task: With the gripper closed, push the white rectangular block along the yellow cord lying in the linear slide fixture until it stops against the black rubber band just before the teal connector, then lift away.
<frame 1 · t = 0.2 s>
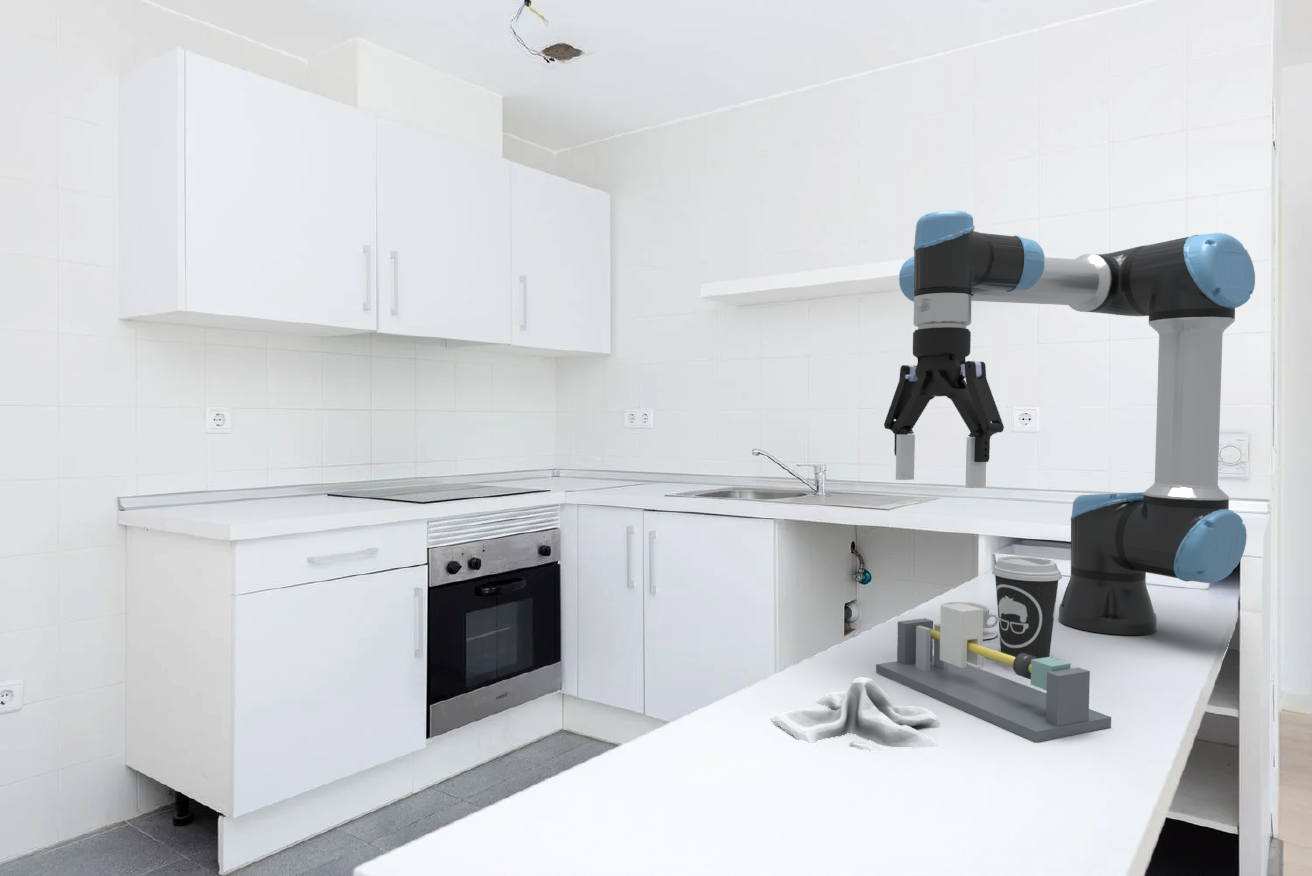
hand: (938, 483, 119), 27 cm above the countertop, fingers open, 13 cm apart
linear slide fixture: (982, 697, 112), on the countertop
teacup: (965, 635, 145), on the countertop
coffee cup: (1024, 662, 129), on the countertop
white rectangular block: (961, 634, 116), point 7 cm above the countertop, slide at 0.0 cm
cloth: (871, 734, 101), on the countertop
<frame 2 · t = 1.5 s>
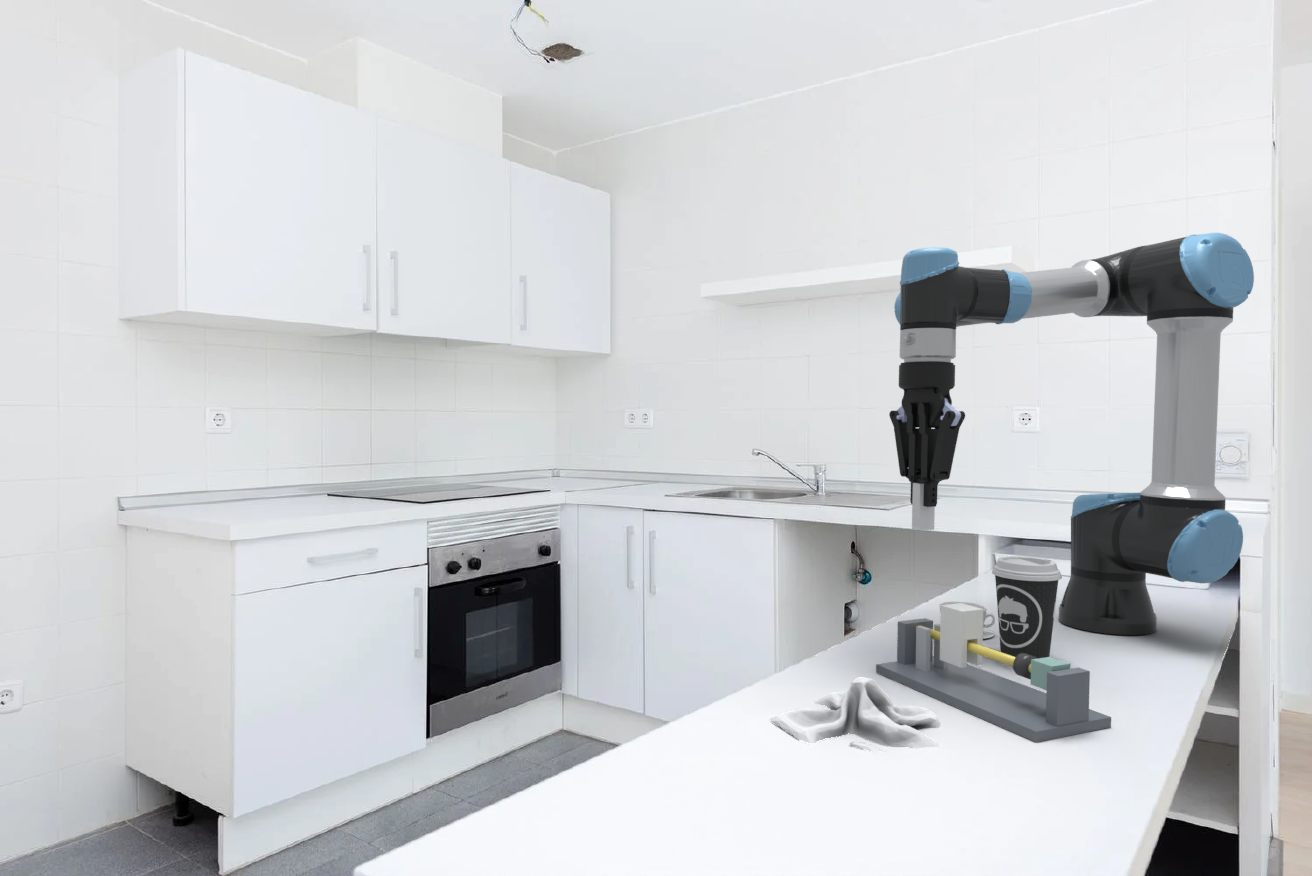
hand: (922, 529, 122), 20 cm above the countertop, fingers closed
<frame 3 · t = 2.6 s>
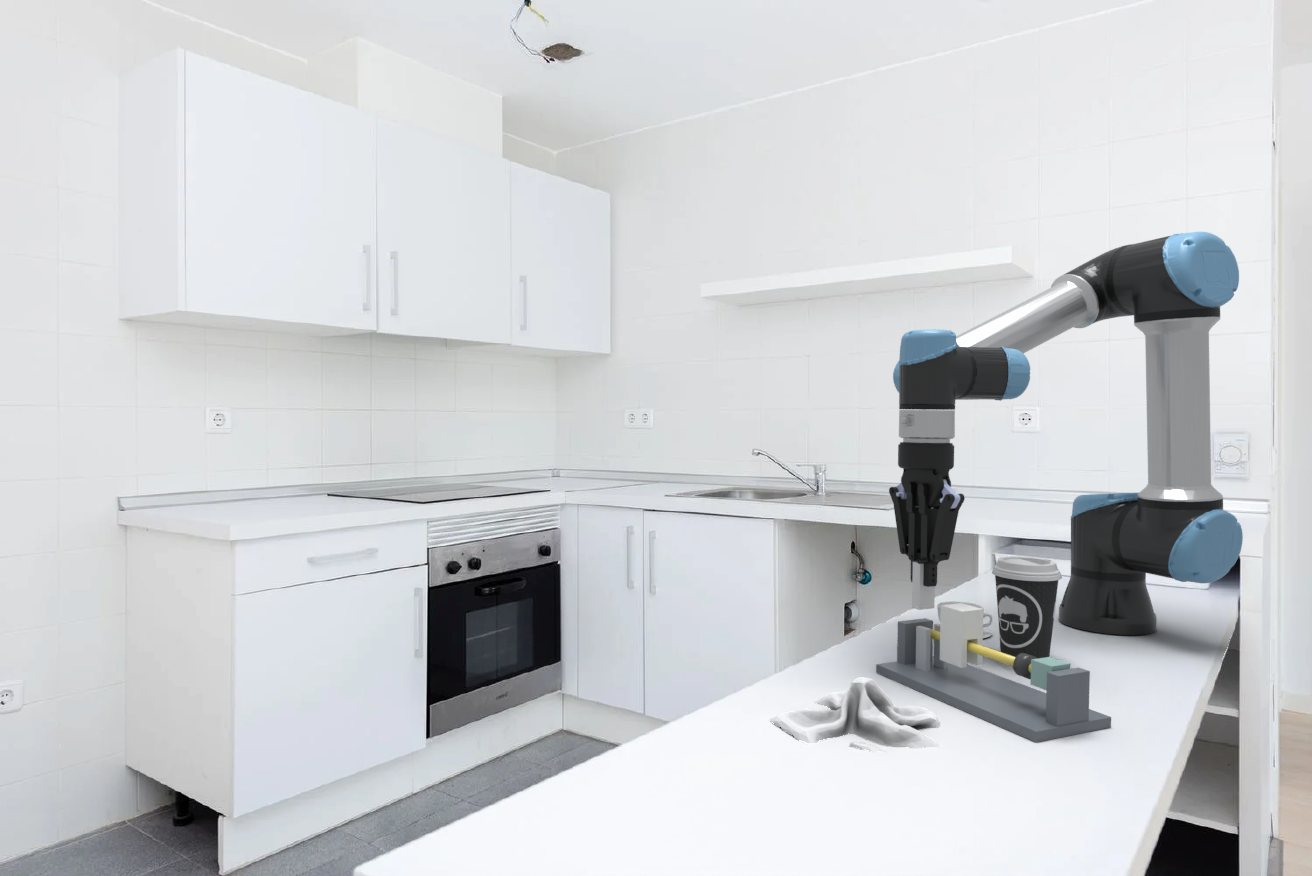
hand: (923, 607, 122), 9 cm above the countertop, fingers closed
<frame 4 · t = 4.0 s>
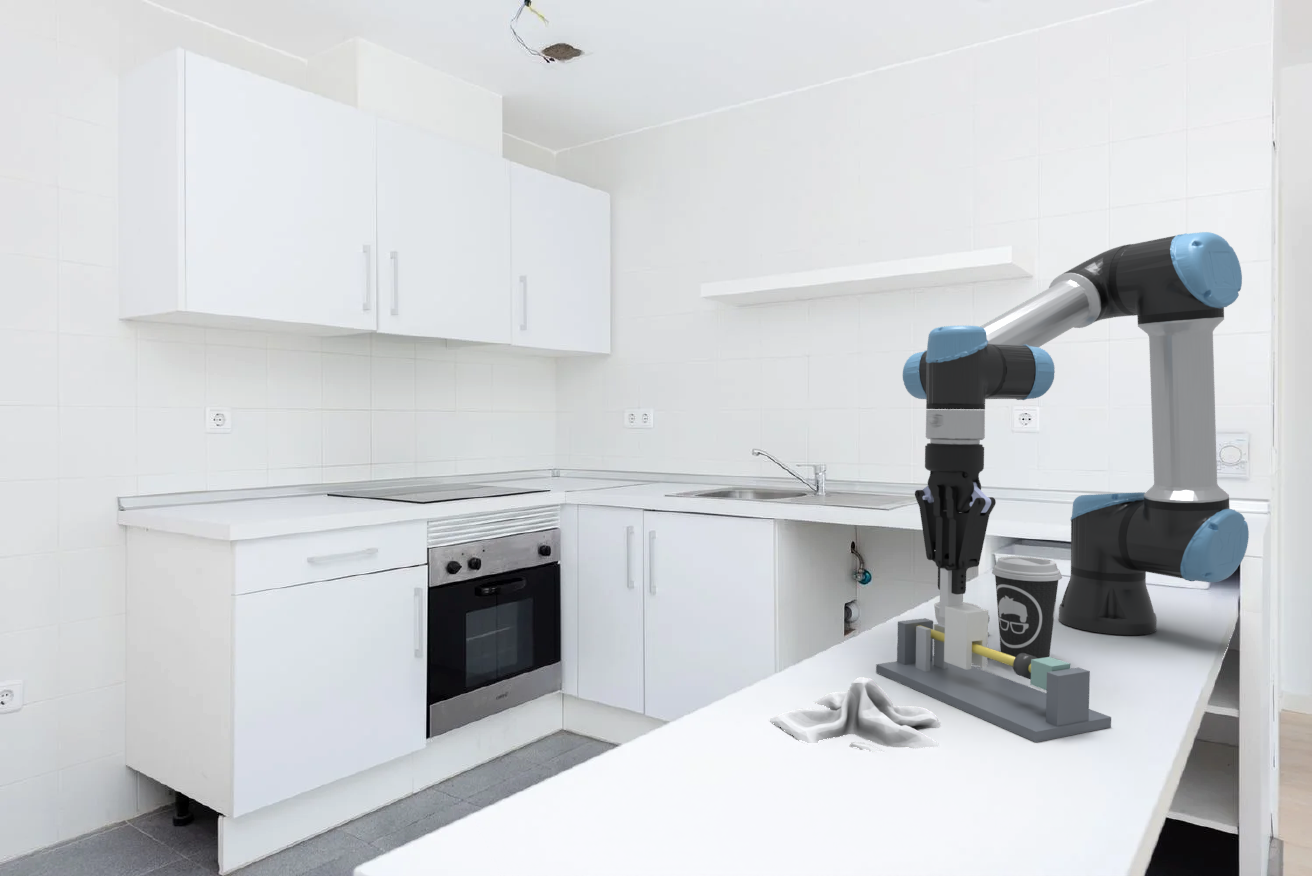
hand: (951, 616, 117), 9 cm above the countertop, fingers closed
white rectangular block: (965, 636, 115), point 7 cm above the countertop, slide at 0.9 cm, touching gripper
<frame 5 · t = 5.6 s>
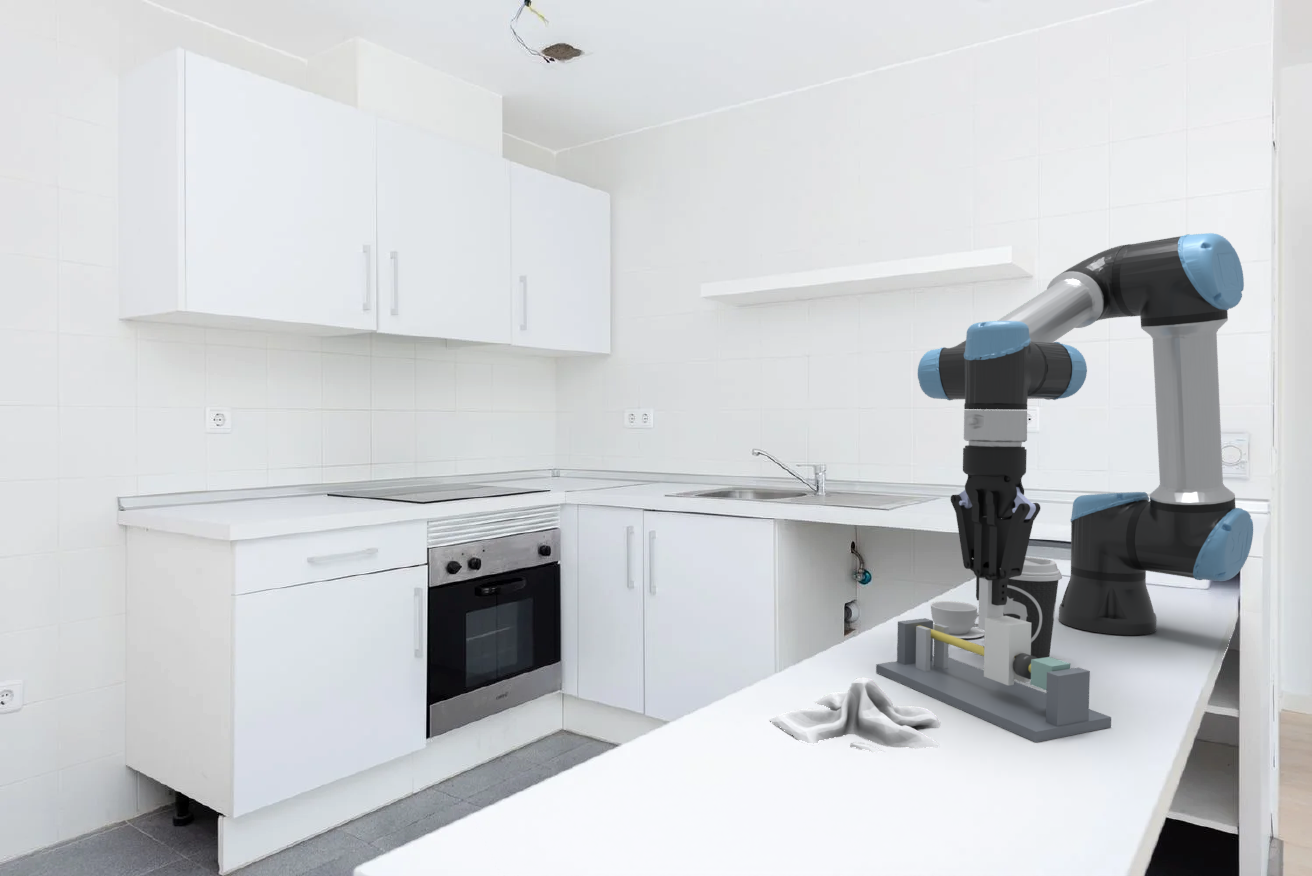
hand: (990, 628, 111), 9 cm above the countertop, fingers closed
white rectangular block: (1007, 649, 108), point 7 cm above the countertop, slide at 7.9 cm, touching gripper
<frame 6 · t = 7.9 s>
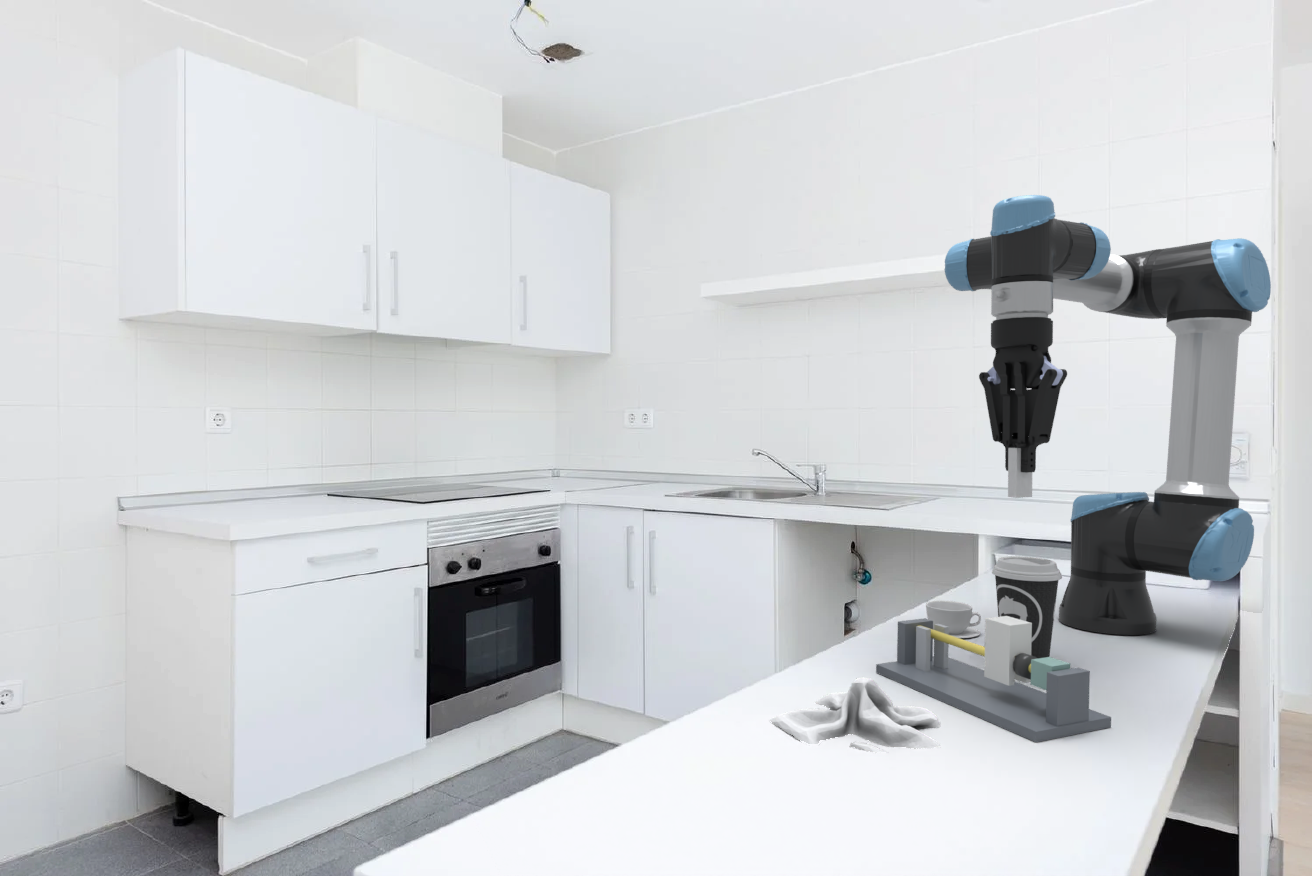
hand: (1020, 496, 115), 26 cm above the countertop, fingers closed
white rectangular block: (1007, 650, 108), point 7 cm above the countertop, slide at 8.0 cm
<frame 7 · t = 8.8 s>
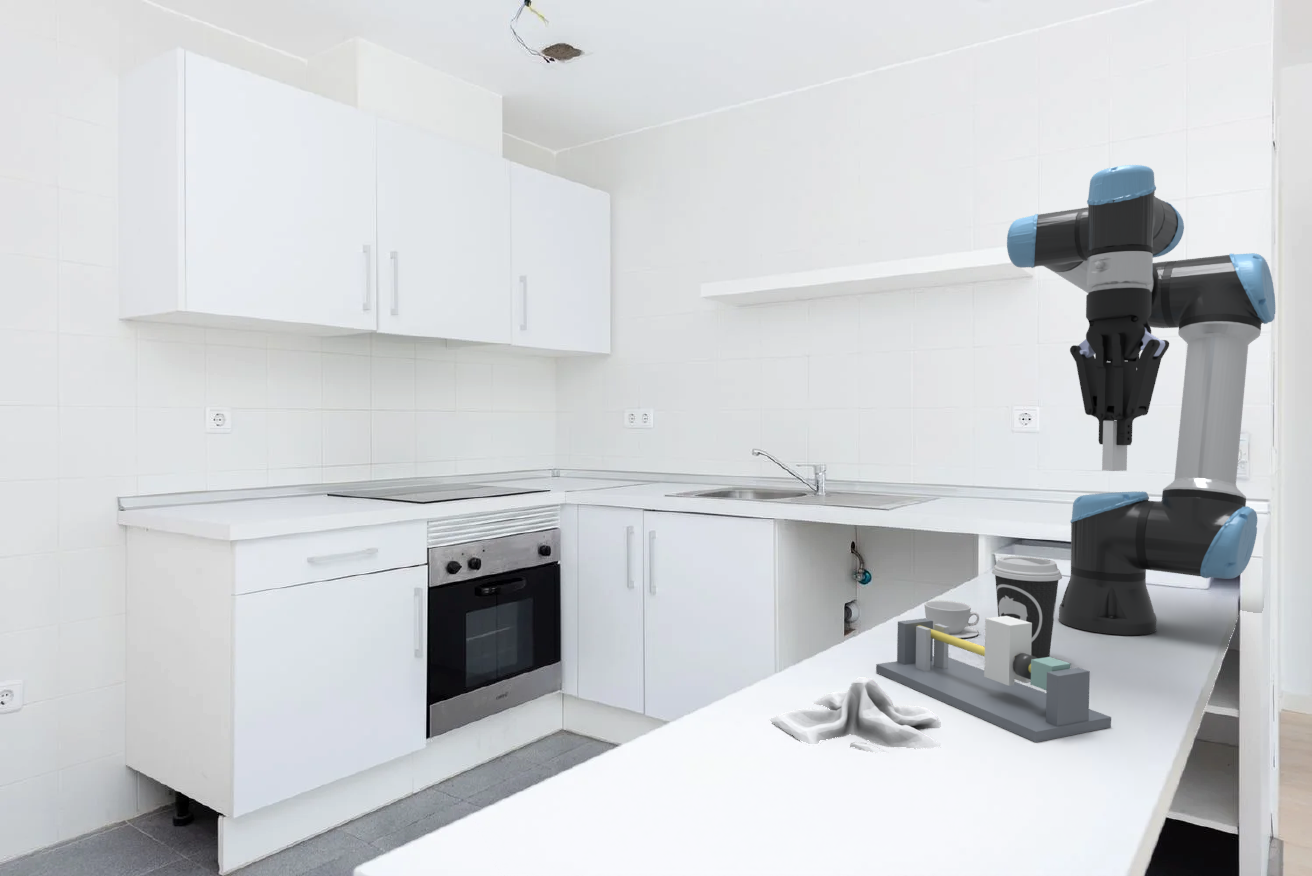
hand: (1114, 470, 114), 29 cm above the countertop, fingers closed
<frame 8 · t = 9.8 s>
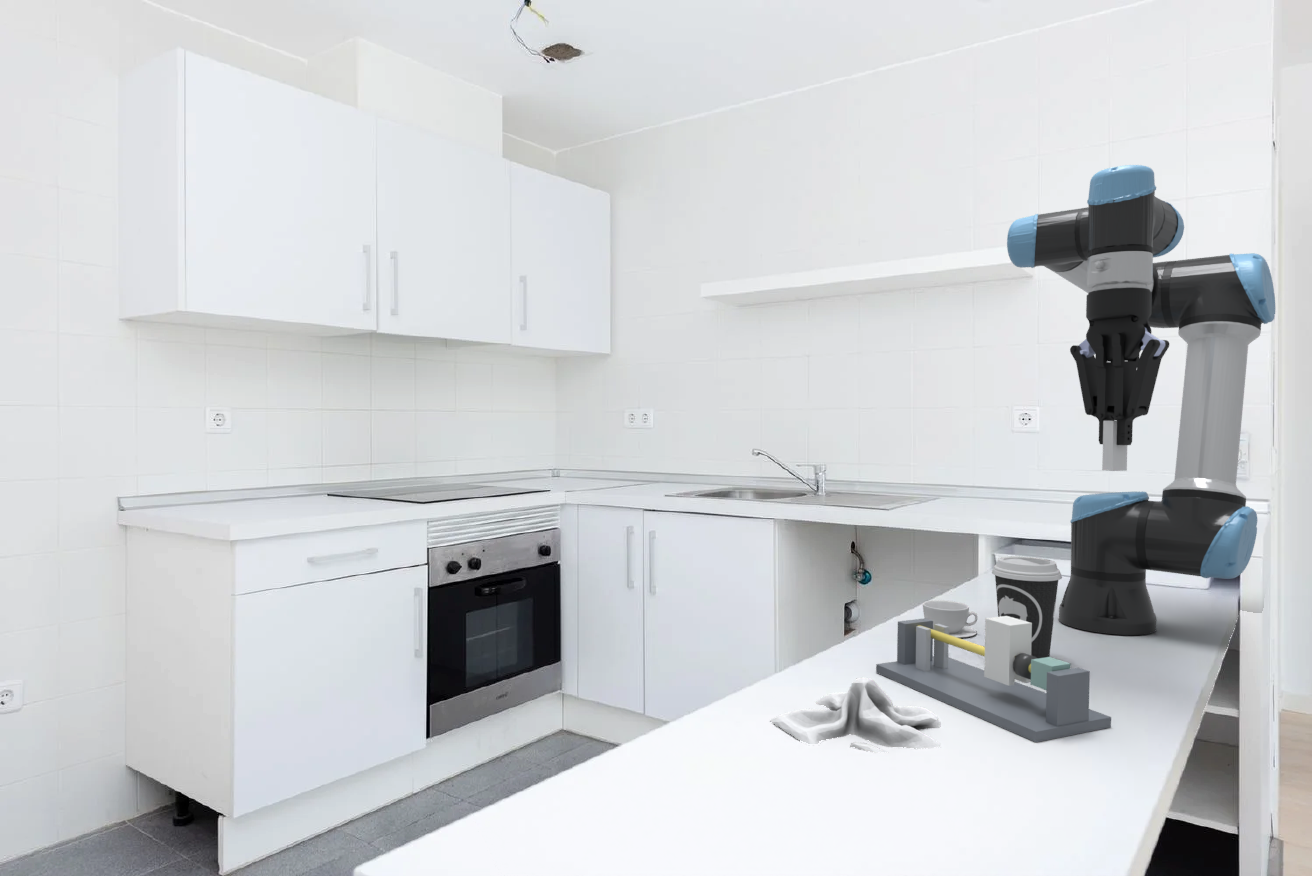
hand: (1114, 470, 114), 29 cm above the countertop, fingers closed
at the end: white rectangular block slide at 8.0 cm; white rectangular block touching nothing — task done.
